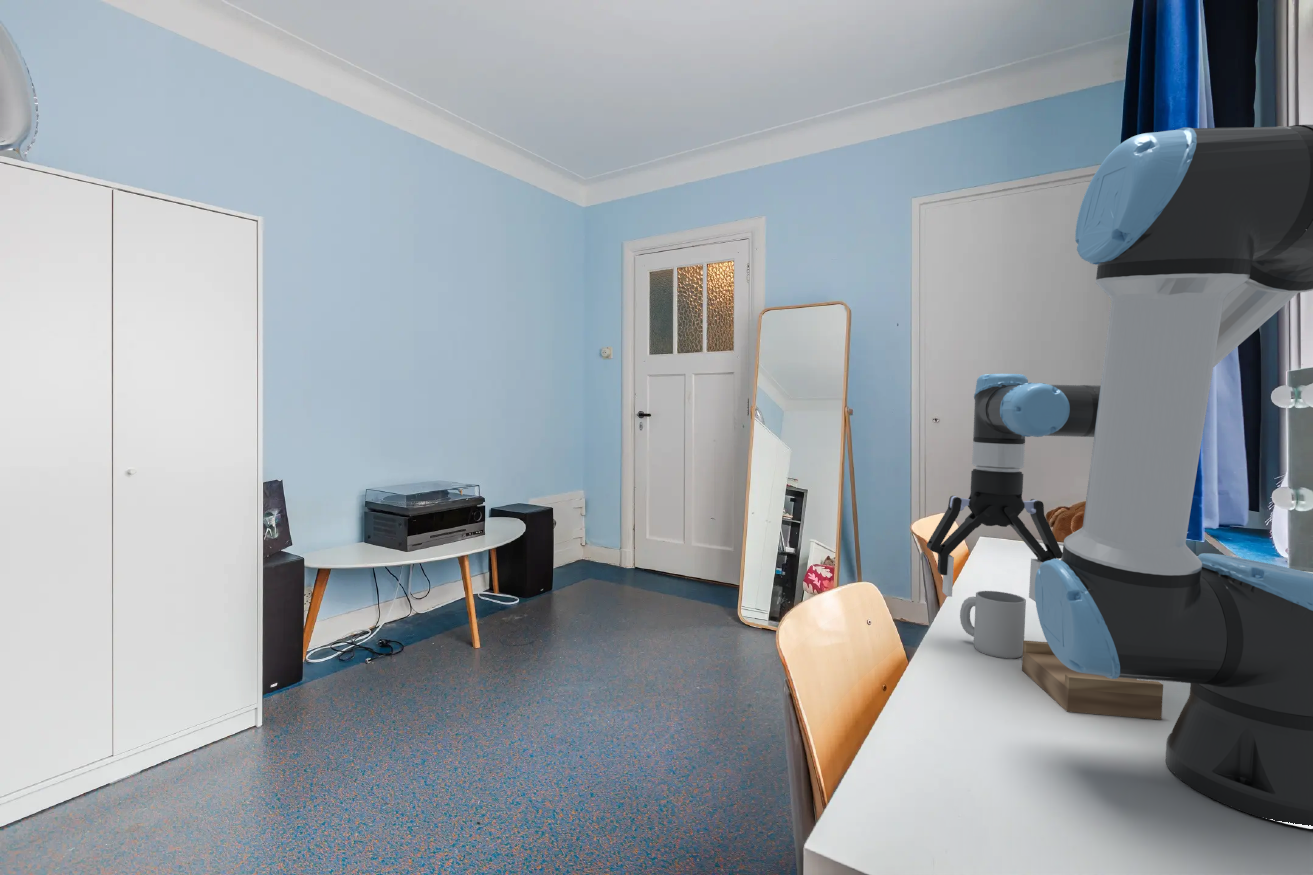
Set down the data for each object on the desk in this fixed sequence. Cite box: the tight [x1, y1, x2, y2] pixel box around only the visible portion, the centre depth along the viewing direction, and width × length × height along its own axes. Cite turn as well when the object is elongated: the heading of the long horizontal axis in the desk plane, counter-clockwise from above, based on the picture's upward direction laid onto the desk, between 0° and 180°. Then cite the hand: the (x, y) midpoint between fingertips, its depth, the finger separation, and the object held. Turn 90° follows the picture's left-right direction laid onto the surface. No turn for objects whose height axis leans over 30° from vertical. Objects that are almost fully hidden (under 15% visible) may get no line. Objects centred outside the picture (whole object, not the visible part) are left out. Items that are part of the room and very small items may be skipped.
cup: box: [959, 590, 1027, 660], centre depth 106 cm, size 7×10×9 cm
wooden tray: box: [1021, 639, 1164, 721], centre depth 89 cm, size 14×11×4 cm
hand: (990, 597), depth 106 cm, fingers open, 13 cm apart
